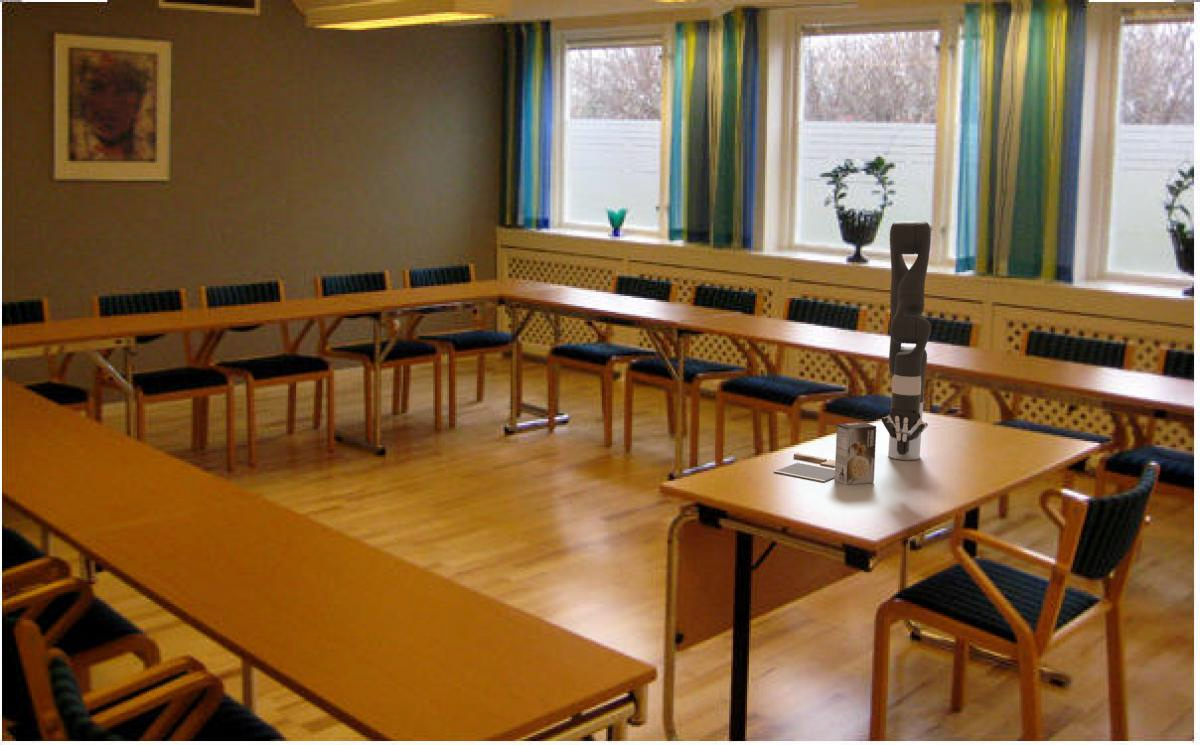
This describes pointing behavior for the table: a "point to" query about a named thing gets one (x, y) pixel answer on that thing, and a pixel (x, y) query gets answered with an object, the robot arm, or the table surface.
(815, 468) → the mat
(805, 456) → the walnut turner
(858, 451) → the coffee box
